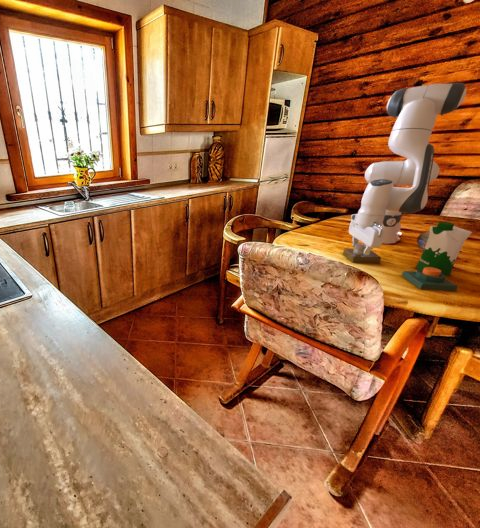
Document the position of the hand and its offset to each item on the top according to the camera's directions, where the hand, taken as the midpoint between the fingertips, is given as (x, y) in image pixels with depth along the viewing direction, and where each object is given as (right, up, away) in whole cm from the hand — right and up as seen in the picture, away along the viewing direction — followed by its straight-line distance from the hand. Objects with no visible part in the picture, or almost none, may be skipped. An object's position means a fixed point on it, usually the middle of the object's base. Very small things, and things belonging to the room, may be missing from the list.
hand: (360, 250), depth 122 cm
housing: (+9, -13, -19) cm, 25 cm away
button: (+8, -10, -21) cm, 25 cm away
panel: (+3, -4, +3) cm, 5 cm away
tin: (+40, 0, +7) cm, 41 cm away
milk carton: (+19, -9, -12) cm, 24 cm away
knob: (0, -1, +1) cm, 2 cm away
